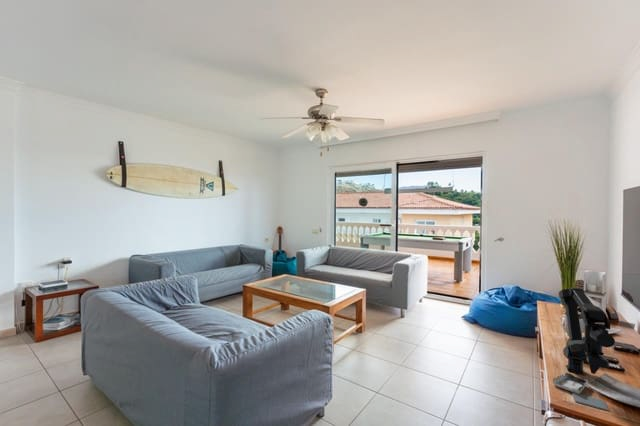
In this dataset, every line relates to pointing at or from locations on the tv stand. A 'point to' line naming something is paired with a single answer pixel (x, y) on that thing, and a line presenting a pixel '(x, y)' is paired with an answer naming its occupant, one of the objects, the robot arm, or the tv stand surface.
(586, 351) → the robot arm
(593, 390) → the tv stand surface
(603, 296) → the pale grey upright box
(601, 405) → the mat
